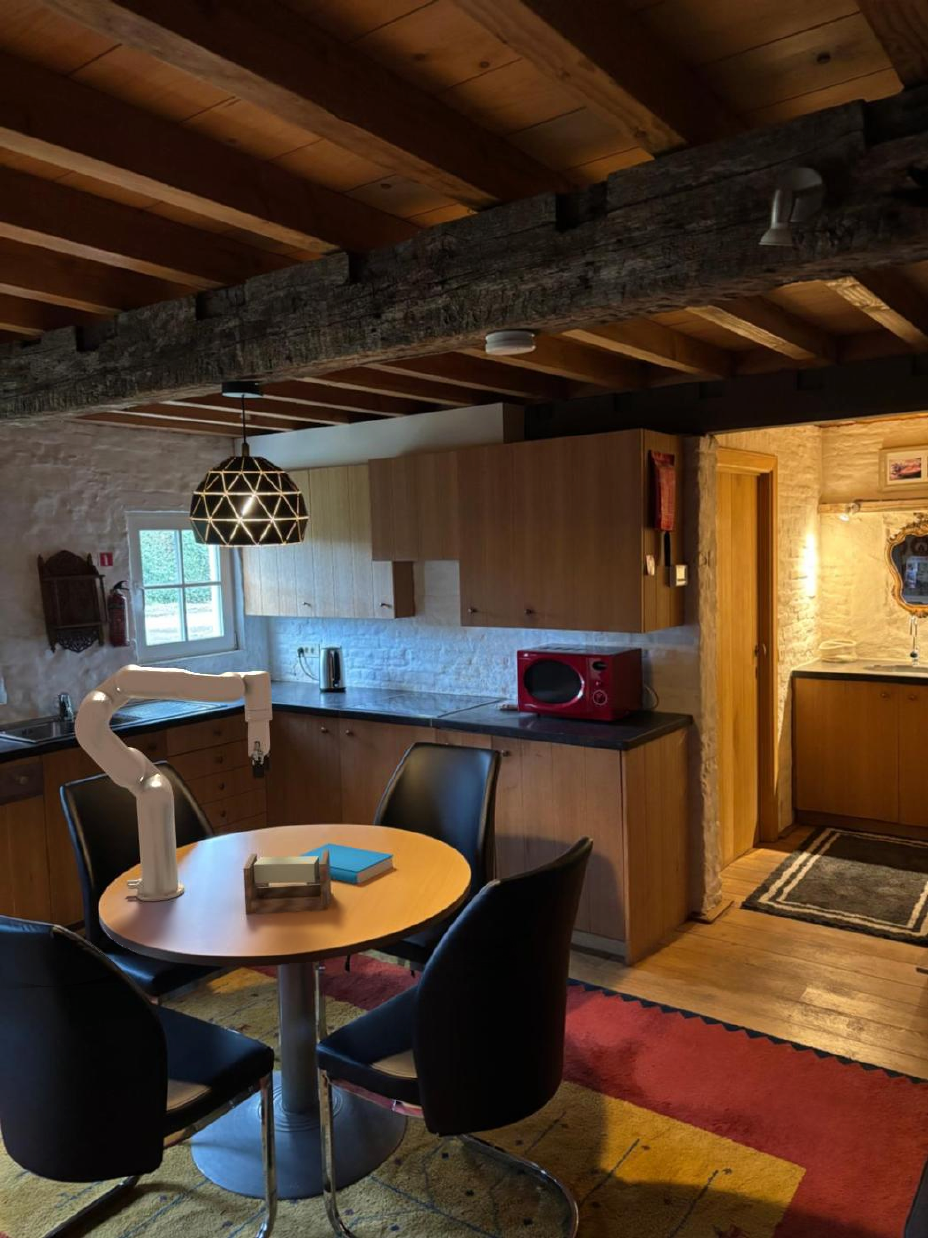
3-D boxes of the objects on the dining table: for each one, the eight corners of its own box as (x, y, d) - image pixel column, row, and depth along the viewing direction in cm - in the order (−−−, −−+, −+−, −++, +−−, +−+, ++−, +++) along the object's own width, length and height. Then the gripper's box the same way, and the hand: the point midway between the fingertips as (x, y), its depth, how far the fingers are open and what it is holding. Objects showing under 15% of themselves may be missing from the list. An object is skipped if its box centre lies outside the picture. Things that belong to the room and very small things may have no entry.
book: (328, 843, 287) (393, 853, 274) (329, 857, 288) (394, 867, 274) (290, 859, 273) (357, 870, 260) (290, 873, 273) (357, 886, 260)
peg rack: (245, 914, 241) (243, 868, 240) (253, 897, 253) (251, 854, 252) (327, 909, 242) (325, 864, 241) (331, 892, 254) (329, 849, 253)
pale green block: (254, 883, 244) (253, 864, 244) (261, 875, 250) (260, 857, 250) (314, 882, 243) (313, 863, 243) (319, 874, 249) (318, 856, 249)
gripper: (250, 710, 273) (253, 768, 274) (239, 720, 256) (243, 782, 257) (276, 709, 273) (279, 766, 274) (267, 719, 256) (270, 780, 257)
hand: (261, 774), depth 266 cm, fingers open, 9 cm apart
